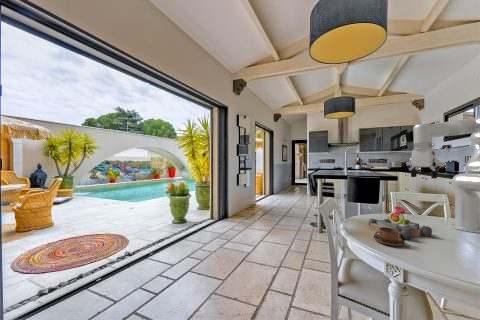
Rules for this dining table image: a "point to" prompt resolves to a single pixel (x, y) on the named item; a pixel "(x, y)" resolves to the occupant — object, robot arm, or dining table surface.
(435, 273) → the dining table surface
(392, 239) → the cup and saucer
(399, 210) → the bird rattle
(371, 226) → the chassis
